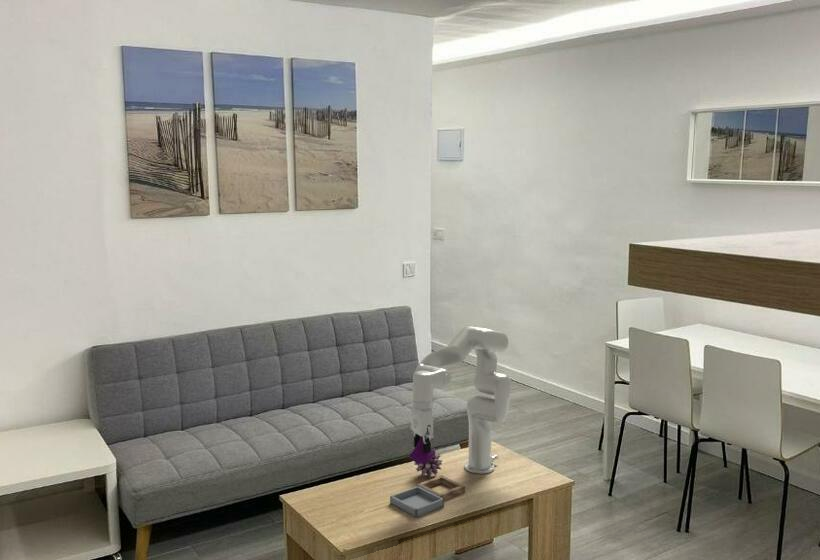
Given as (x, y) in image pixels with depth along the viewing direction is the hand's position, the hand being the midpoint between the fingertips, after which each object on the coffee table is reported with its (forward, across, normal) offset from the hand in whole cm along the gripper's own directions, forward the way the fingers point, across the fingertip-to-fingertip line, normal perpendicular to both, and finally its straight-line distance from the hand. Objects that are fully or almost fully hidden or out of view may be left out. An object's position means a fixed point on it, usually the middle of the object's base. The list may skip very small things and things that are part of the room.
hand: (422, 449), depth 280 cm
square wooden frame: (+21, -5, +11) cm, 24 cm away
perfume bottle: (+5, 0, 0) cm, 5 cm away
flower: (+21, -20, +14) cm, 32 cm away
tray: (+21, +1, -3) cm, 21 cm away
